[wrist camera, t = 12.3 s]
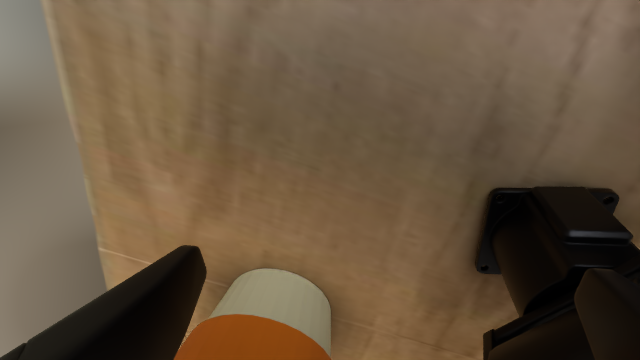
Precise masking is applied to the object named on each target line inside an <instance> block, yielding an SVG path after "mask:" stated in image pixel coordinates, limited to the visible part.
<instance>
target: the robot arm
mask: <svg viewBox="0 0 640 360" xmlns="http://www.w3.org/2000/svg"><path fill="white" fill-rule="evenodd" d="M499 195H503V196H502V197H501V198H499V199H496V197H497V196H499ZM606 197H609V198H608V199H606V200H604V199H605V198H606ZM618 201H619V196H618V195H617V194H616V193H615V192H614V191H612V190H610V189H586V188H584V187H534V188H496V189H494V190H492V191H491V192H490V194H489V198H488V203H487V208H486V213H485V218H484V222H483V227H482V232H481V237H480V242H479V247H478V251H477V256H476V261H475V266H476V269H477V271H478V272H480V273H484V274H502V276H503V279H504V281H505V284H506V286H507V288H508V291H509V293H510V295H511V298H512V300H513V302H514V305H515V307H516V310H517V312H518V314H519V318H517V319H515V320H513V321H512V322H510V323H508V324H506V325H504V326H502V327H500V328H498V329H496V330H494V329H492V330H490V331H488V332H486V333H484V335H483V360H640V250H639V249H638V248H637V247H636V246H635V245H634V244H633V243H632V242H631V240H632V238H633V235H632V234H631V233H630V232H629V231H628V230H627V229H626V228H625V227H624V226H623V225H622V224H621V223H620V222H619V221H618V220H617V219H616V218H615V217H614V216H613V213H614V210H615V208H616V206H617V204H618ZM483 265H486V266H483ZM482 266H483V267H482ZM206 273H207V271H206V266H205V263H204V260H203V257H202V254H201V251H200V249H199V248H198V247H197V246H188V245H183V246H180V247H178V248H177V249H175V250H174V251H172V252H170V253H169V254H167V255H166V256H164V257H162V258H161V259H159V260H157V261H156V262H154V263H153V264H151V265H149V266H148V267H146V268H145V269H143V270H141V271H140V272H138V273H136V274H135V275H133V276H132V277H130V278H128V279H127V280H125V281H124V282H122V283H120V284H119V285H117V286H115V287H114V288H112V289H111V290H109V291H107V292H106V293H104V294H103V295H101V296H99V297H98V298H96V299H94V300H93V301H91V302H90V303H88V304H86V305H85V306H83V307H81V308H80V309H78V310H77V311H75V312H73V313H72V314H70V315H68V316H67V317H65V318H64V319H62V320H60V321H59V322H57V323H56V324H54V325H52V326H51V327H49V328H47V329H46V330H44V331H43V332H41V333H39V334H38V335H36V336H35V337H33V338H32V339H30V340H29V341H28V342H27V343H23V344H21V345H20V346H18V347H17V348H15V349H13V350H12V351H10V352H9V353H7V354H6V355H4V356H2V357H1V358H0V360H174V358H175V355H176V353H177V351H178V349H179V347H180V345H181V343H182V341H183V338H184V336H185V334H186V331H187V329H188V326H189V324H190V321H191V318H192V315H193V312H194V310H195V307H196V304H197V301H198V298H199V296H200V293H201V290H202V287H203V284H204V282H205V279H206Z"/></svg>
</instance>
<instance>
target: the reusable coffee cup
mask: <svg viewBox="0 0 640 360" xmlns="http://www.w3.org/2000/svg"><path fill="white" fill-rule="evenodd" d="M174 360H331V309H330V305H329V302H328V300H327V298H326V297H325V295H324V294H323V292H322V291H321V290H320V289H319V288H318V287H317V286H316V285H314V284H313V283H311V282H310V281H308V280H307V279H305V278H303V277H301V276H299V275H297V274H294V273H291V272H288V271H285V270H279V269H269V268H264V269H255V270H252V271H249V272H246V273H244V274H242V275H240V276H239V277H238V278H237V279H236V280H235V281H234V282H233V284H232V285H231V286H230V288H229V289H228V291H227V292H226V294H225V295H224V297H223V298H222V299H221V301H220V302H219V304H218V305H217V307H216V308H215V310H214V311H213V312H212V314H211V315H210V317H209V318H208V319H207V320H205V321H203V322H202V323H200V324H199V325H198V326H197V327H196V328H195V329H193V331H192V332H191V334H190V335H189V336H188V338H187V339H186V341H185V342H184V343H183V345H182V346H181V348H180V349H179V350H178V352H177V353H176V355H175V358H174Z"/></svg>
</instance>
